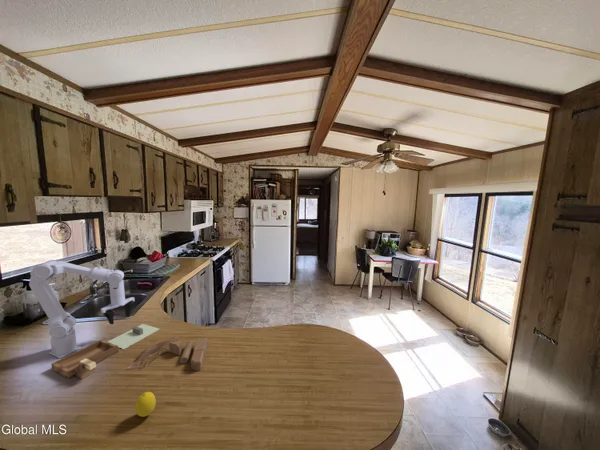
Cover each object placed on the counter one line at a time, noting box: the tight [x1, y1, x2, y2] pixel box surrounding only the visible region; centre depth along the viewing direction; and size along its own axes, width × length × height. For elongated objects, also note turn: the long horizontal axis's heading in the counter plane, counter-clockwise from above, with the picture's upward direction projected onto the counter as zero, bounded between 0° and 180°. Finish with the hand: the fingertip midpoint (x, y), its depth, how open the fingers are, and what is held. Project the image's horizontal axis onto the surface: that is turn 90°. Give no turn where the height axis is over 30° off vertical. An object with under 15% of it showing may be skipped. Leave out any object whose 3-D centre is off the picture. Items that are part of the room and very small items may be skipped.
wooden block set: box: [169, 337, 208, 371], centre depth 103 cm, size 17×6×18 cm
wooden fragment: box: [126, 335, 179, 370], centre depth 109 cm, size 26×11×1 cm, turn 158°
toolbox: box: [50, 339, 119, 380], centre depth 101 cm, size 18×18×6 cm
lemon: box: [135, 391, 157, 418], centre depth 76 cm, size 6×6×8 cm
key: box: [80, 358, 97, 370], centre depth 93 cm, size 7×2×2 cm, turn 68°
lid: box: [107, 323, 160, 350], centre depth 121 cm, size 14×19×4 cm
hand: (120, 319), depth 117 cm, fingers open, 7 cm apart
